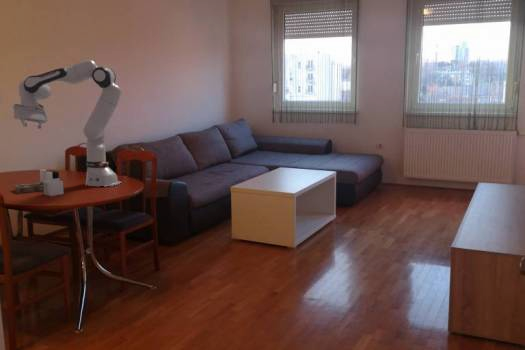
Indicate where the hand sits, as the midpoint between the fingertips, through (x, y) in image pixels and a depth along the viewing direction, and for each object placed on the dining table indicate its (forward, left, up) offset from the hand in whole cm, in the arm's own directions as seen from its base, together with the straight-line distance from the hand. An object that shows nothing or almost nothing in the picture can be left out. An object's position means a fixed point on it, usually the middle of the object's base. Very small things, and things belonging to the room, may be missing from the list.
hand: (32, 127), depth 318 cm
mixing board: (-11, +9, -35) cm, 38 cm away
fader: (-13, +5, -32) cm, 35 cm away
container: (-30, +12, -36) cm, 48 cm away
